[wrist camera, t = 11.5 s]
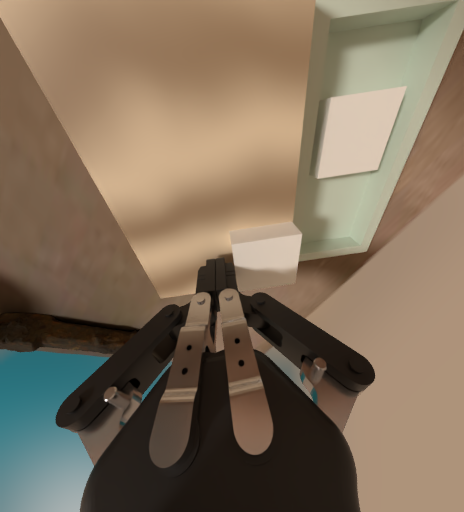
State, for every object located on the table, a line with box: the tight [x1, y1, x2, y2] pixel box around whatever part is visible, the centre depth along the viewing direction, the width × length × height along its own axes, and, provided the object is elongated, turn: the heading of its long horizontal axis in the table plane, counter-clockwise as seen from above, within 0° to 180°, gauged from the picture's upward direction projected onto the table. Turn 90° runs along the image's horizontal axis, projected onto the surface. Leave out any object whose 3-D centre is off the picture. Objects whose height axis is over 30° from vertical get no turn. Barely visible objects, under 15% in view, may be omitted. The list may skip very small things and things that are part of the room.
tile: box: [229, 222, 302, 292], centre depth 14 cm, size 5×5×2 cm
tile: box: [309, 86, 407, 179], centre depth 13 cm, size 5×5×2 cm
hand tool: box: [0, 313, 137, 354], centre depth 25 cm, size 19×4×5 cm, turn 61°
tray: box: [293, 0, 464, 262], centre depth 15 cm, size 18×9×2 cm, turn 7°
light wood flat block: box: [0, 0, 316, 298], centre depth 14 cm, size 18×13×5 cm
